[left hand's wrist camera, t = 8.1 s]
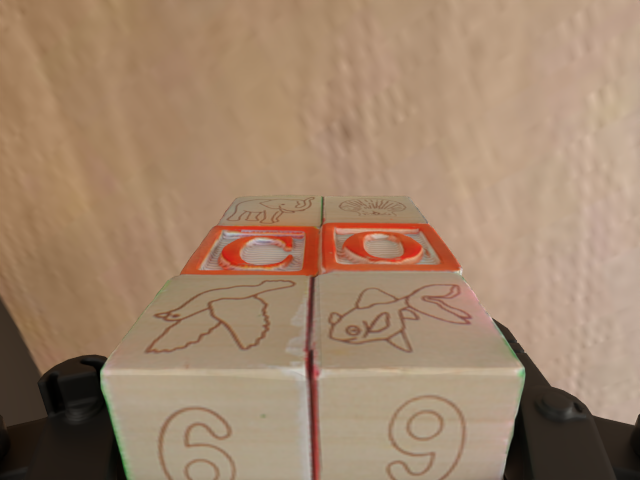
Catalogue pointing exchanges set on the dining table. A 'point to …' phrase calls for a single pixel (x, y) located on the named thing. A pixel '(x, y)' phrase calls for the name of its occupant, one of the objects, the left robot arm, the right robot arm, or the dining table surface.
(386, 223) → the stack of blocks
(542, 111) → the dining table surface
